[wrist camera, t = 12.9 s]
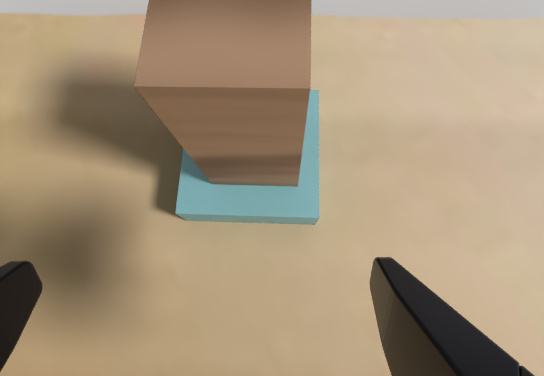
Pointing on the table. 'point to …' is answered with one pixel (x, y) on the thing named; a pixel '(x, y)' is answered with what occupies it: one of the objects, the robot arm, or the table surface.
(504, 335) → the table surface
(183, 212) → the base brick
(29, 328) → the table surface
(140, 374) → the table surface
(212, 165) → the walnut block
